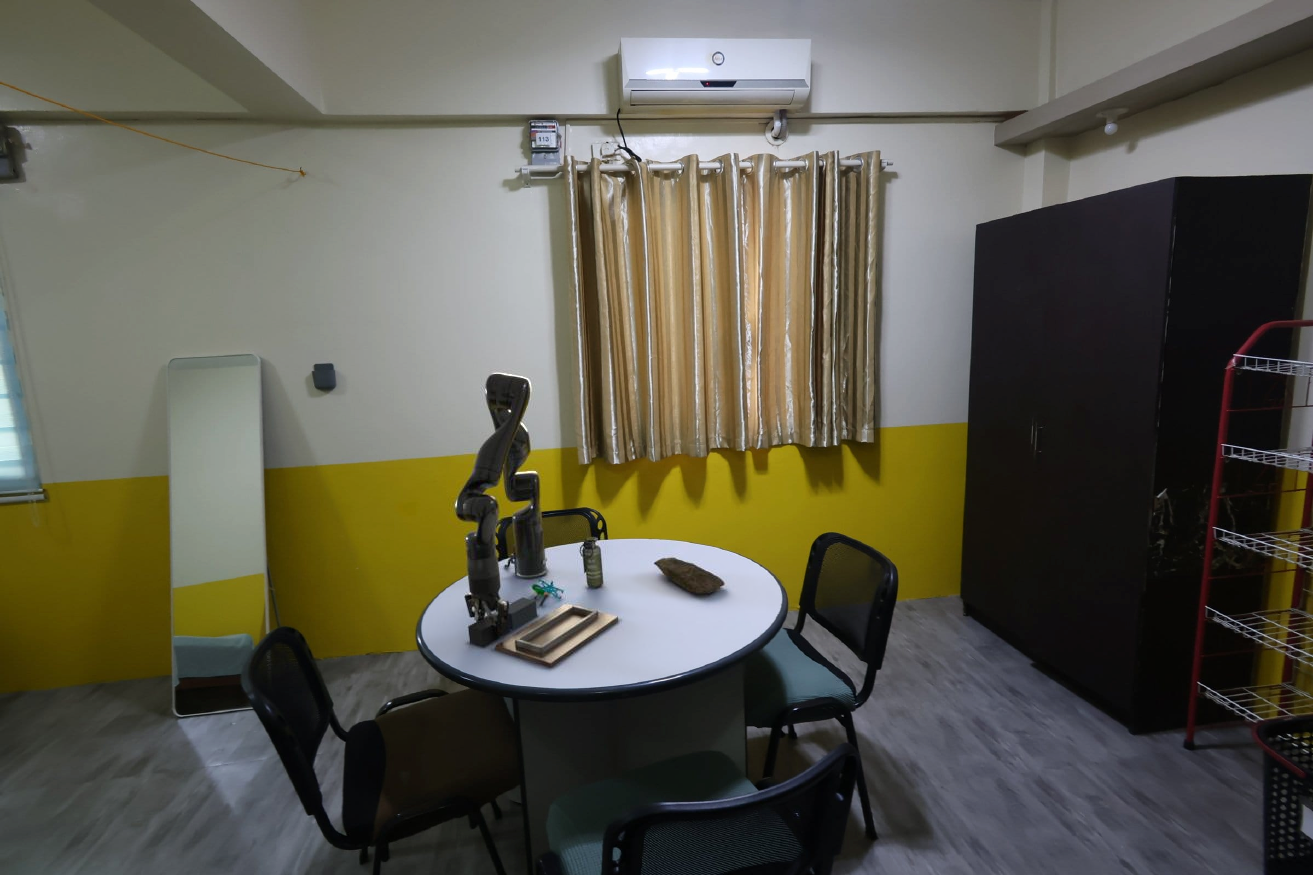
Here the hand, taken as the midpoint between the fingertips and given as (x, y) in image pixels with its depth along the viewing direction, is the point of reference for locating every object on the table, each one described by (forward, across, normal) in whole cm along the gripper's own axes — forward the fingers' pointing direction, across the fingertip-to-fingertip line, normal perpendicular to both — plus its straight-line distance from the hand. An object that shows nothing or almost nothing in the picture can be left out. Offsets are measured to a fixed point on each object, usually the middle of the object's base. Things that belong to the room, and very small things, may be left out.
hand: (490, 635), depth 155 cm
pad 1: (0, 0, 0) cm, 0 cm away
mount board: (0, -15, -9) cm, 17 cm away
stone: (+1, -28, -51) cm, 58 cm away
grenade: (+1, -4, -37) cm, 37 cm away
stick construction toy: (+1, +3, -23) cm, 23 cm away
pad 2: (0, 0, -10) cm, 10 cm away
